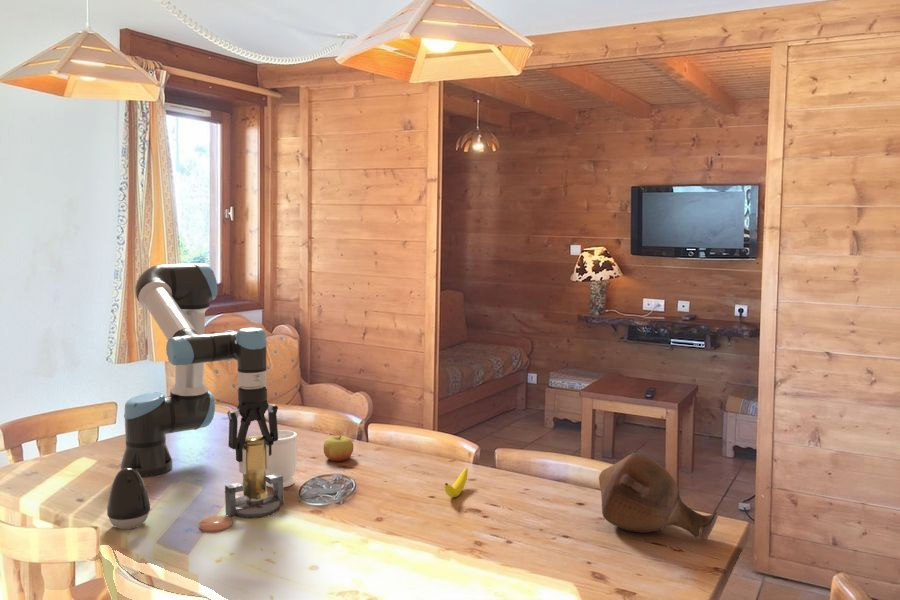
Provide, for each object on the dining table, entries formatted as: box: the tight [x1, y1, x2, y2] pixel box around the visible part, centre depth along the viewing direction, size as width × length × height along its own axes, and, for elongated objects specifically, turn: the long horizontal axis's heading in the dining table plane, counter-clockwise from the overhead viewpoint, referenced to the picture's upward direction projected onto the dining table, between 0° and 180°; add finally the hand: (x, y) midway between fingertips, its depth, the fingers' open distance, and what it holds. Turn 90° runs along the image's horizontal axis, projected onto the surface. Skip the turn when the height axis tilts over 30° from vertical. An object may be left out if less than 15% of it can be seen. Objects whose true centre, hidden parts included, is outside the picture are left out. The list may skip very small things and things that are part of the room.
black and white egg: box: [106, 468, 151, 530], centre depth 200 cm, size 10×10×15 cm
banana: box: [444, 467, 469, 498], centre depth 224 cm, size 3×19×6 cm, turn 161°
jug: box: [598, 452, 719, 541], centre depth 197 cm, size 20×20×30 cm
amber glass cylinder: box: [241, 435, 268, 499], centre depth 211 cm, size 6×11×15 cm, turn 40°
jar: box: [261, 429, 298, 489], centre depth 232 cm, size 11×10×15 cm
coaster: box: [198, 515, 233, 533], centre depth 201 cm, size 8×8×1 cm
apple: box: [323, 435, 354, 462], centre depth 256 cm, size 10×10×8 cm
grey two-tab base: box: [224, 473, 284, 519], centre depth 212 cm, size 13×16×8 cm
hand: (254, 470), depth 211 cm, fingers closed on amber glass cylinder, 6 cm apart
